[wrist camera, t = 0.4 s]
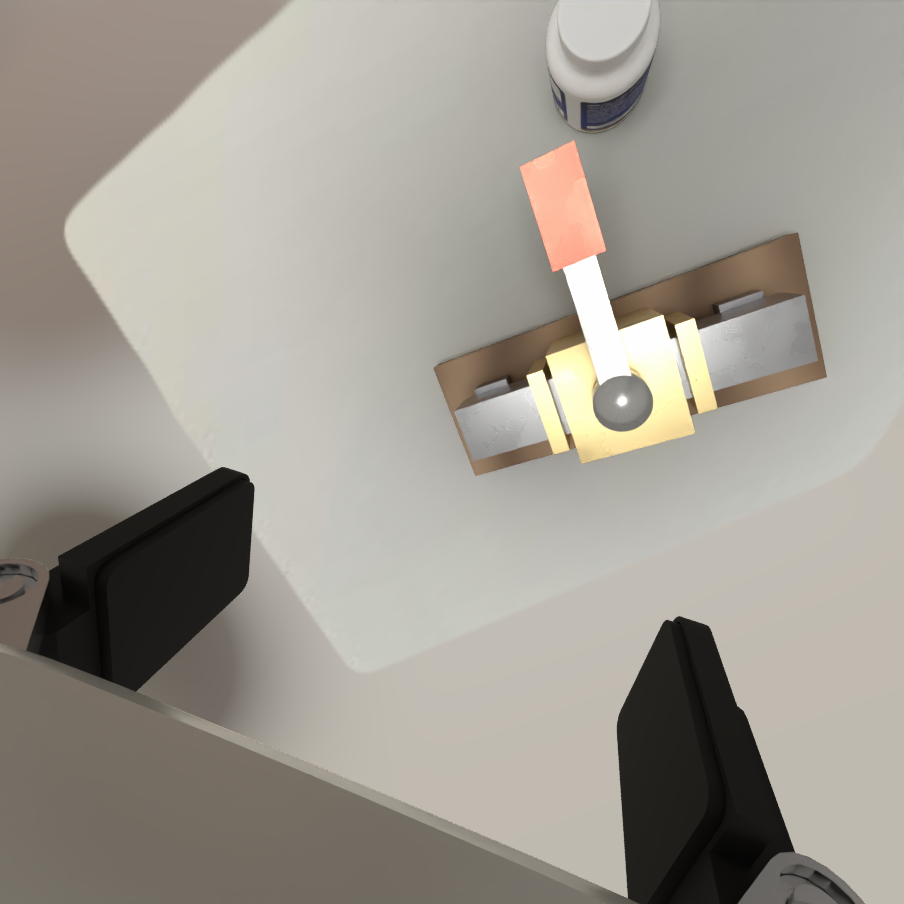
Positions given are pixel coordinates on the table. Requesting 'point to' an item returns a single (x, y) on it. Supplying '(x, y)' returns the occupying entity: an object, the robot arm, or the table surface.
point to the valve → (659, 363)
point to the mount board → (686, 293)
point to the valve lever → (586, 282)
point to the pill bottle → (600, 58)
